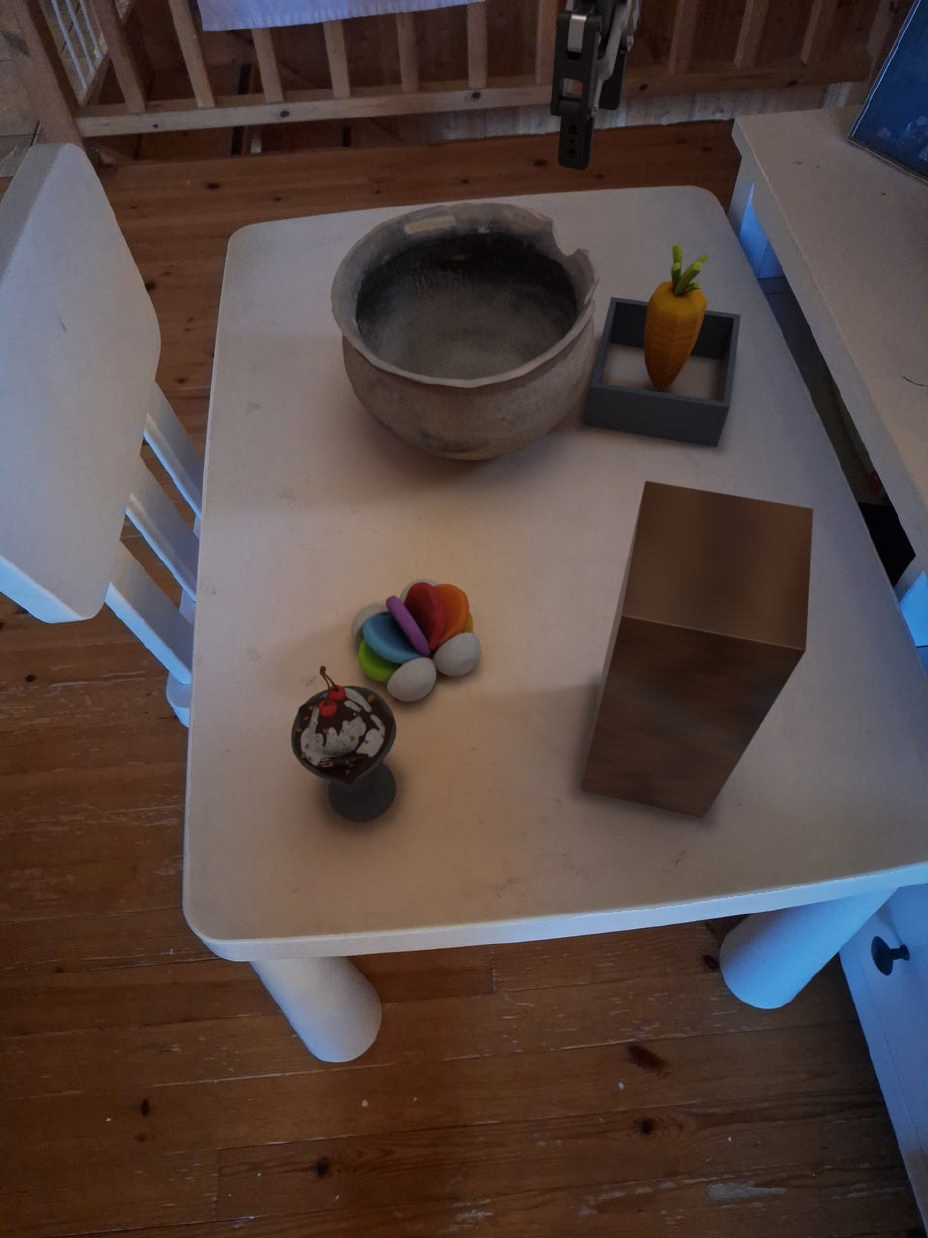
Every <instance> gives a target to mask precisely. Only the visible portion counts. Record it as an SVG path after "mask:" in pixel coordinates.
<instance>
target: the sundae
mask: <svg viewBox="0 0 928 1238" xmlns="http://www.w3.org/2000/svg"><path fill="white" fill-rule="evenodd" d="M319 668H320V669H319V675H320V676H321V677H322V679H324V681H325V683H326V686H327V689H325V690H322V691H320V692H318V693H316V694H314V695H312V696H311V697H309V698H308V699H307V700H306V701H305V702H304V703H303V704H301V705H299V707H298V710H297V713H296V716H295V718H294V720H293V723H292V727H291V733H290V741H291V748H292V753H293V754H294V756H295V758H296V759H297V760H298V762H299V764H300V765H301V766H302V767H303V768H305V769H306V770H307V771H308V772H310V773H312V774H313V775H315V776H317V777H318V778H321V779H324V780H326V781H328V782H329V783H328V788H327V794H328V801H329V803H330V806H331V807H332V808H333V810H334V812H336V814H338V815H339V816H340V817H342V818H343V819H345V820H348V821H350V822H351V821H352V822H357V823H361V822H368V821H372V820H374V819H376V818H379V817H381V815H383V814H384V813H386V811H387V810H388V809H389V807H390V806H391V805H392V803H393V802H394V800H395V796H396V791H397V785H396V779H395V776H394V774H393V772H392V771H391V769H390V768H389V766H387V764H385V763H384V761H385V758H386V757H387V755H388V754H389V753H390V752H391V750H392V748H393V746H394V743H395V740H396V738H397V723H396V721H397V720H396V718H395V715H394V713H393V711H392V709H391V707H390V705H389V704H388V703H387V702H386V700H385V699H384V698H383V697H382V696H381V695H379V694H378V693H377V692H375V691H373V690H371V689H369V688H367V687H363V686H360V685H359V686H358V685H343V686H341V685H339V684H335V682H334V681H333V680H332V678H331V677H330V676H329V675H328V674H327V673H326V671H327V667H326V666H325V665H321V666H320V667H319ZM329 682H330V683H329ZM330 684H331V685H330Z"/></svg>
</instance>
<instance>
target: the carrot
mask: <svg viewBox="0 0 928 1238" xmlns="http://www.w3.org/2000/svg"><path fill="white" fill-rule="evenodd" d="M671 250H672V251H671V252H672V261H673V264H672V266H671V269H670V276H671V277H670V278H671V280H666V281H663V282H661V283H659V284H658V286H657V287H656V288H655V290H654V291H653V293H652V294H651V295H650V298H649V299H648V301H647V302H648V308H647V315H646V322H645V331H644V347H643V355H644V364H645V369H646V372H647V376H648V378H649V380H650V383H651V384H652V386H653V388H654V390H656V391H657V392H662V391H665V390H666V389H667V388H668V387H669V386H670V385H672V383H673V382H674V381H675V379H676V378H677V377H678V376H679V374H680V373H681V371H682V370H683V368H684V366H685V364H686V363H687V361H688V359H689V357H690V355H691V354H690V353H691V351H692V349H693V347H694V345H695V343H696V340H697V337H698V334H699V331H700V328H701V325H702V321H703V318H704V314H705V311H706V310H707V307H708V301H707V297H706V295H704V293H703V291H702V289H701V288H702V284H701V283H700V282H698V281H694V282H692V281H693V280H694V279H695V278H696V277H697V276H698V275H699V274H700V273H701V272H702V269H703V263H704V262H706V261H707V260H708V259H709V258H710V256H709V255H708V254H706V253H703V254H702V255H700V256H699V257H698V258H696V259H695V260H694V261H693V262H692V263H691V264H690V265H689V266H688V267H687V268H686V269H685V271H683V273H682V265H683V252H682V251H683V249H682V244H681V243H677V244H674V245H672V247H671Z"/></svg>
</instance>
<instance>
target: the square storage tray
mask: <svg viewBox="0 0 928 1238" xmlns="http://www.w3.org/2000/svg"><path fill="white" fill-rule="evenodd" d="M609 300H610V301H609V305H608V309H607V313H606V318H605V322H604V325H603V329H602V334H601V338H600V343H599V347H598V350H597V351H598V352H597V355H596V360H595V364H594V368H593V372H592V377H591V382H590V385H589V390H588V391H589V393H588V400H587V408H586V416H585V422H584V423H585V424H584V425H585V426H586V427H591V428H598V429H604V430H609V431H610V430H611V431H615V432H616V431H617V432H622V433H628V434H637V435H641V436H649V437H654V438H660V439H665V440H666V439H668V440H674V441H678V442H679V441H680V442H685V443H686V442H687V443H693V444H699V445H705V446H710V447H719V446H718V445H719V442H720V439H721V437H722V433H723V430H724V427H725V423H726V420H727V417H728V414H729V411H730V407H731V399H732V392H733V383H734V376H735V366H736V359H737V349H738V343H739V342H738V341H739V335H740V334H739V333H740V327H741V326H740V325H741V317H742V315H741V314H739V313H732V312H725V311H717V310H709V309H706V311H705V314H704V318H703V321H702V325H701V328H700V331H699V334H698V337H697V340H696V343H695V345H694V347H693V349H692V351H691V353H690V355H692V356H693V355H694V356H700V357H705V358H706V357H707V358H714V359H720V360H721V366H720V374H719V380H718V387H717V395H716V400H715V399H709V398H703V397H696V396H695V397H694V396H689V395H681V394H676V393H675V394H674V393H669V392H663V391H657V390H656V391H655V390H649V389H642V388H636V387H630V386H629V387H628V386H623V385H616V384H610V383H603V377H604V373H605V368H606V364H607V363H606V362H607V361H608V356H609V351H610V346H611V344H617V345H624V346H632V347H639V348H644V331H645V322H646V315H647V308H648V302H649V301H645V300H638V299H631V298H623V297H615V296H611V297H610V299H609Z"/></svg>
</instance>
